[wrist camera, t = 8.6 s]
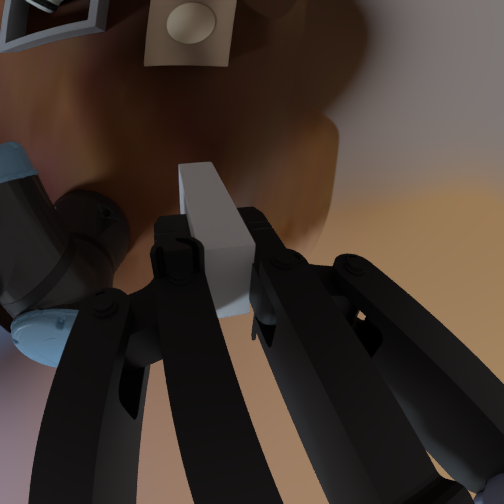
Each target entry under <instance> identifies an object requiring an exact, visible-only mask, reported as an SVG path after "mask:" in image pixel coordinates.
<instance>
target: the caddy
mask: <svg viewBox="0 0 504 504" xmlns="http://www.w3.org/2000/svg"><path fill="white" fill-rule="evenodd" d="M29 6H30V3H29V2H27V1H26V0H6V1H5V6H4V12H3V18H2V25H1V33H0V53H6V52H20V51H23V50H26V49H29V48H33V47H36V46H39V45H43V44H46V43H50V42H54V41H58V40H62V39H67V38H71V37H76V36H81V35H87V34H93V33H99V32H105V30H106V21H107V14H108V7H109V0H91V1H90V7H89V15H88V20H85V21H80V22H75V23H71V24H66V25H62V26H58V27H54V28H50V29H47V30H43V31H40V32H36V33H33V34H30V35H27V36H26V27H27V19H28V12H29Z"/></svg>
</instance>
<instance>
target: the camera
mask: <svg viewBox="0 0 504 504" xmlns="http://www.w3.org/2000/svg"><path fill="white" fill-rule="evenodd" d="M26 1H27V2H29V3H30V4H32V5H34V6H35V7H37V8H39V9H41V10H43V11H45V12H48V13H52V12H54V11H56V10H57V7H58V6H59V5H60V3H61V2H62V1H63V0H26Z"/></svg>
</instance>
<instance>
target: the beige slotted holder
mask: <svg viewBox="0 0 504 504" xmlns="http://www.w3.org/2000/svg"><path fill="white" fill-rule="evenodd" d="M236 2H237V0H151V3H150V10H149V17H148V25H147V34H146V44H145V55H144V66H222V67H228V61H229V53H230V45H231V37H232V30H233V23H234V15H235V9H236Z"/></svg>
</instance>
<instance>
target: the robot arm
mask: <svg viewBox="0 0 504 504" xmlns="http://www.w3.org/2000/svg"><path fill="white" fill-rule="evenodd" d="M178 167H179V193H180V212H181V214H178V215H169V216H161V217H159V218H158V219H157V221H156V222H155V224H154V245H153V246H152V248H151V251H150V258H151V263H152V269H153V274H154V278H153V280H152V281H151V282H150V283H149V284H148V285H147V286H146V287H144V288H143V289H141V290H139V291H137V292H134V293H132V294H129V295H127V294H126V293H124V292H123V291H122V290H120V289H116V288H112V287H113V277H114V273H115V272H116V270H117V269H118V267H119V266H120V264H121V263H122V261H123V260H124V258H125V256H126V254H127V251H128V246H129V238H130V231H129V225H128V222H127V219H126V217H125V215H124V213H123V212H122V211H121V209H120V208H119V207H118V206H117V205H116V204H115V203H114V202H113V201H112V200H110V199H109V198H107V197H105V196H103V195H101V194H98V193H95V192H90V191H76V192H72V193H69V194H66V195H64V196H63V197H61V198H60V199H58V200H57V201H56V202H55V203H54V204H52V202H51V200H50V198H49V196H48V194H47V192H46V190H45V188H44V186H43V184H42V182H41V180H40V178H39V176H38V174H39V173H38V171H37V170H36V169H34V167H33V165H32V163H31V161H30V160H29V158H28V156H27V154H26V152H25V150H24V148H23V147H22V146H21V145H20V144H19V143H17V142H6V143H3V144H1V145H0V303H1V304H2V306H3V307H4V308H5V309H6V310H7V311H8V312H9V313H10V314H11V316H12V317H13V318H14V320H13V322H12V324H11V330H12V332H11V335H12V337H13V342H14V344H15V345H16V347H17V348H18V349H19V350H20V351H21V352H22V353H23V354H25V355H26V356H27V357H29V358H31V359H32V360H34V361H37V362H39V363H41V364H44V365H47V366H52V367H57V370H56V373H55V376H54V379H53V382H52V386H51V389H50V392H49V396H48V399H47V403H46V407H45V410H44V414H43V418H42V422H41V427H40V431H39V436H38V441H37V445H36V451H35V456H34V462H33V468H32V475H31V483H30V492H29V503H28V504H136V494H137V476H138V462H139V449H140V440H141V431H142V421H143V413H144V406H145V398H146V391H147V384H148V378H149V371H150V364H153V363H155V362H157V361H159V360H162V359H163V364H164V371H165V377H166V384H167V389H168V395H169V401H170V406H171V411H172V417H173V422H174V426H175V431H176V436H177V440H178V445H179V449H180V453H181V457H182V461H183V465H184V468H185V473H186V477H187V480H188V484H189V487H190V491H191V494H192V497H193V501H194V504H283V501H282V499H281V497H280V494H279V492H278V489H277V487H276V485H275V482H274V479H273V477H272V474H271V472H270V469H269V467H268V464H267V462H266V459H265V456H264V454H263V451H262V448H261V446H260V443H259V440H258V438H257V435H256V432H255V429H254V427H253V424H252V421H251V419H250V415H249V413H248V410H247V407H246V404H245V401H244V398H243V395H242V393H241V389H240V386H239V383H238V380H237V377H236V374H235V371H234V368H233V365H232V362H231V359H230V356H229V353H228V349H227V346H226V343H225V340H224V336H223V333H222V330H221V326H220V323H219V320H218V318H223V317H229V316H235V315H240V314H246V313H249V304H250V303H251V306H252V308H253V311H254V318H253V326H252V334H251V335H252V340H255V339H256V333H257V335H258V338H259V340H260V343H261V345H262V348H263V350H264V353H265V355H266V357H267V360H268V362H269V365H270V367H271V370H272V372H273V375H274V377H275V380H276V382H277V384H278V387H279V389H280V392H281V394H282V397H283V399H284V401H285V404H286V406H287V409H288V411H289V413H290V415H291V418H292V420H293V423H294V425H295V427H296V429H297V432H298V434H299V437H300V439H301V441H302V444H303V446H304V448H305V450H306V453H307V455H308V457H309V460H310V462H311V464H312V466H313V469H314V471H315V473H316V475H317V478H318V480H319V482H320V484H321V486H322V489H323V491H324V493H325V495H326V498H327V500H328V502H329V504H504V384H503V383H502V382H501V381H500V380H499V379H498V378H497V377H496V376H495V375H494V374H493V373H492V372H491V371H490V369H489V368H488V367H486V366H485V364H484V363H483V362H482V361H481V360H480V359H479V358H478V357H477V356H475V355H474V354H473V353H472V352H471V351H470V350H469V349H468V348H467V347H466V346H465V345H464V344H463V343H462V342H461V341H460V340H459V339H458V338H457V337H456V336H455V335H454V334H453V333H452V332H450V331H449V330H448V329H447V328H446V327H445V326H444V325H443V324H442V323H441V322H440V321H439V320H437V319H436V318H435V317H434V316H433V315H432V314H431V313H430V312H429V311H427V310H426V309H425V308H424V307H423V306H422V305H421V304H420V303H418V302H417V301H416V300H415V299H414V298H413V297H411V296H410V295H409V294H408V293H407V292H406V291H404V290H403V289H402V288H401V287H400V286H398V285H397V284H396V283H395V282H394V281H393V280H391V279H390V278H389V277H388V276H387V275H385V274H384V273H383V272H382V271H380V270H379V269H378V268H377V267H376V266H374V265H373V264H372V263H371V262H369V261H368V260H366V259H365V258H363V257H361V256H358V255H355V254H342V255H339V256H338V257H336V258H335V261H334V264H333V266H322V265H313V264H309V263H308V262H307V260H306V259H305V258H304V257H303V256H302V255H301V254H300V253H298V252H296V251H294V250H291V249H287V248H286V247H285V246H284V244H283V243H282V241H281V240H280V238H279V237H278V235H277V234H276V232H275V231H274V229H273V228H272V226H271V225H270V223H269V222H268V220H267V219H266V217H265V216H264V214H263V213H262V212H261V211H259V210H258V209H256V208H254V207H241V208H236V207H235V205H234V203H233V201H232V199H231V197H230V195H229V194H228V192H227V190H226V188H225V186H224V184H223V182H222V181H221V179H220V177H219V175H218V173H217V171H216V169H215V168H214V166H213V164H212V162H199V163H185V164H178ZM359 311H361V312H362V313H363V314H364V315H365V316H366V318H365V320H361V319H359V318H358V317H357V315H358V313H359ZM426 451H427V452H428V453H429V454H430V455H431V456H432V457H433V458H434V459H435V460H436V461H437V462H438V463H439V464H440V465H441V467H442V468H443V469H444V470H445V471H446V472H447V473H448V474H449V475H450V476H451V477H452V478H453V479H454V480H455V481H453V480H449V479H445V478H443V477H442V476H440V474H439V473H438V472H437V470H436V469H435V467H434V465H433V463H432V461H431V459H430V457H429V456H428V454H427V452H426ZM468 490H469V491H471V492H473V493H476V496H475V498H474V500H473V499H472V497H471V495H470V493H469V492H468Z"/></svg>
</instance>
